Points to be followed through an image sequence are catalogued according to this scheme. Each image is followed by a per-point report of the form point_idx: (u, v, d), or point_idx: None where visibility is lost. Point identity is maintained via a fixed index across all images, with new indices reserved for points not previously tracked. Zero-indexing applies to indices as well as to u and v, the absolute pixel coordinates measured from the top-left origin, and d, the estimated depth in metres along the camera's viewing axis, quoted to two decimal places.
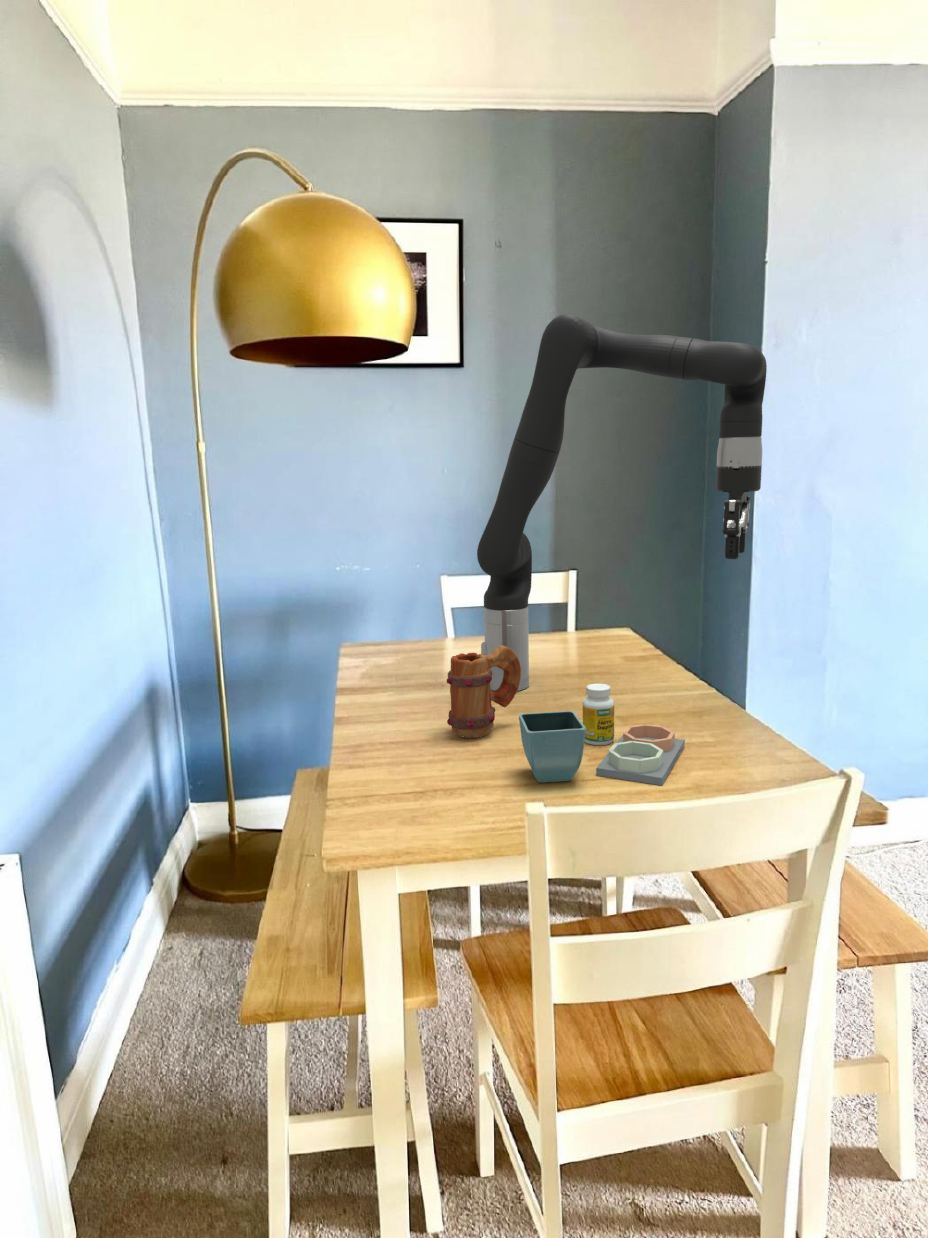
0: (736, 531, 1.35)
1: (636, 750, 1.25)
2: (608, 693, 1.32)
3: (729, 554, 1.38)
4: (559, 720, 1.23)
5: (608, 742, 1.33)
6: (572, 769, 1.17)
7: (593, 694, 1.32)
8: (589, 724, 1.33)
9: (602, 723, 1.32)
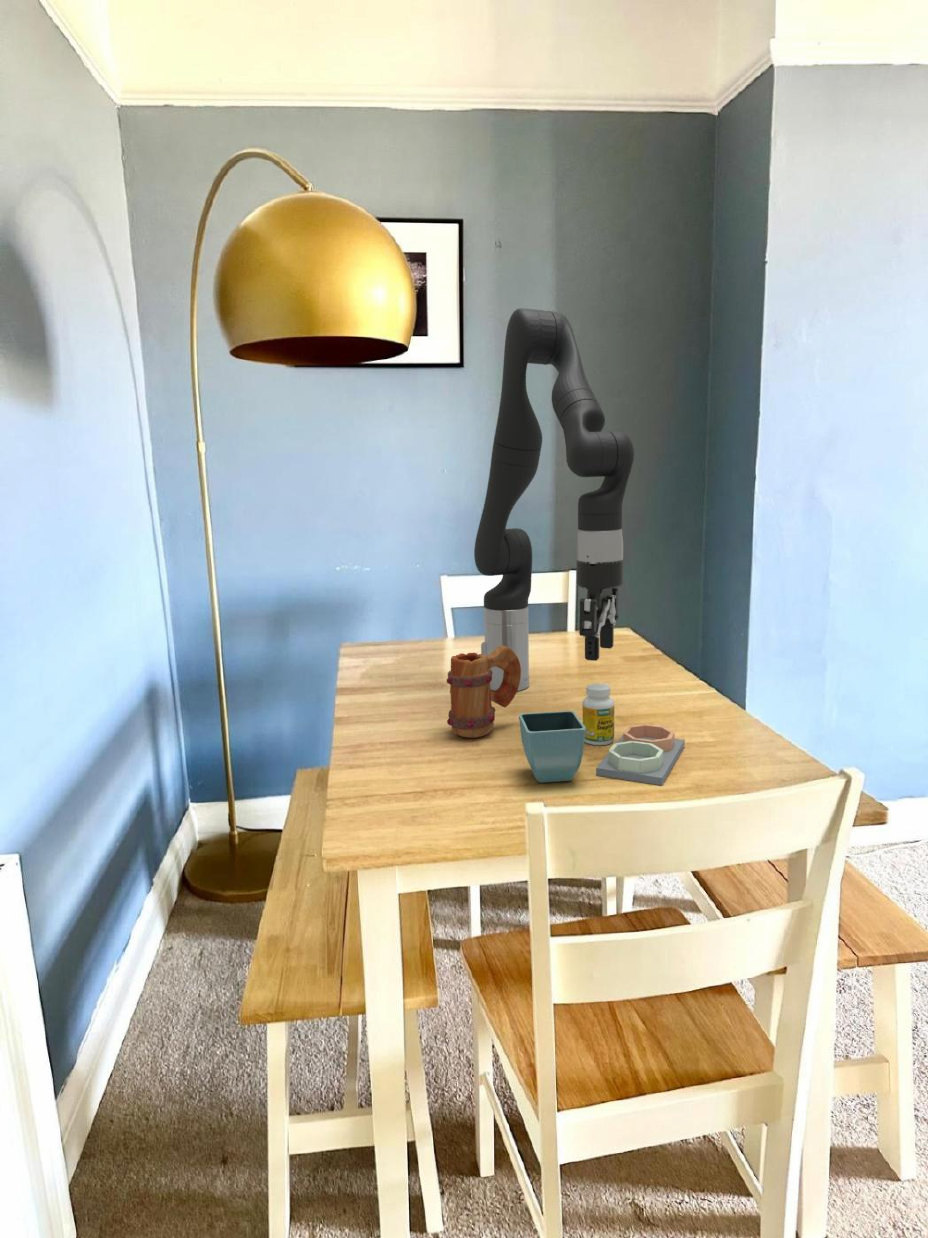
0: (592, 633, 1.24)
1: (636, 750, 1.25)
2: (608, 693, 1.32)
3: (588, 656, 1.27)
4: (559, 720, 1.23)
5: (608, 742, 1.33)
6: (572, 769, 1.17)
7: (593, 694, 1.32)
8: (589, 724, 1.33)
9: (602, 723, 1.32)
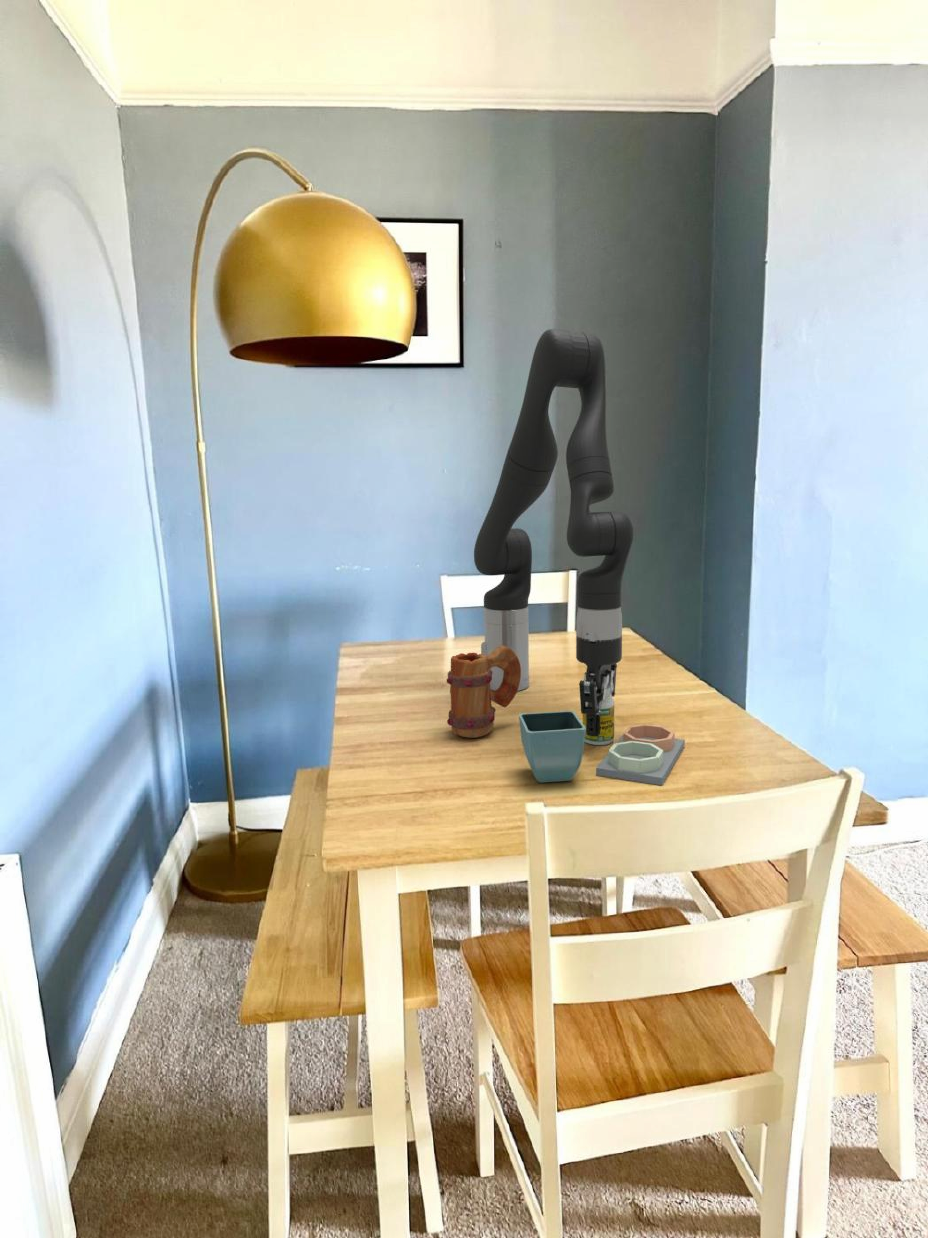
0: (593, 713, 1.28)
1: (636, 750, 1.25)
2: (608, 693, 1.32)
3: (589, 732, 1.31)
4: (559, 720, 1.23)
5: (608, 742, 1.33)
6: (572, 769, 1.17)
7: None
8: None
9: (602, 723, 1.32)
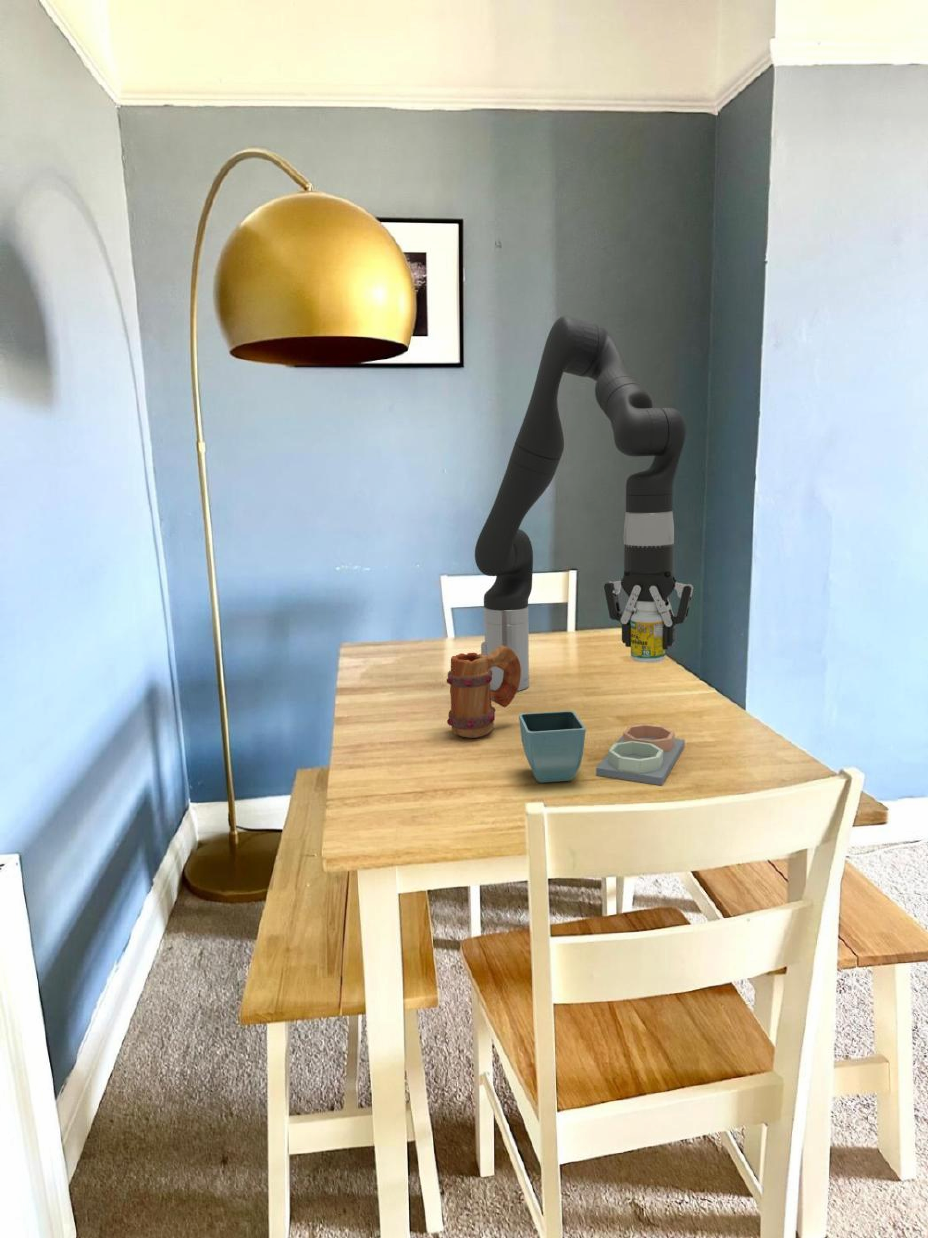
0: (610, 616, 1.27)
1: (636, 750, 1.25)
2: (641, 607, 1.23)
3: None
4: (559, 720, 1.23)
5: (635, 659, 1.25)
6: (572, 769, 1.17)
7: None
8: None
9: (631, 635, 1.25)
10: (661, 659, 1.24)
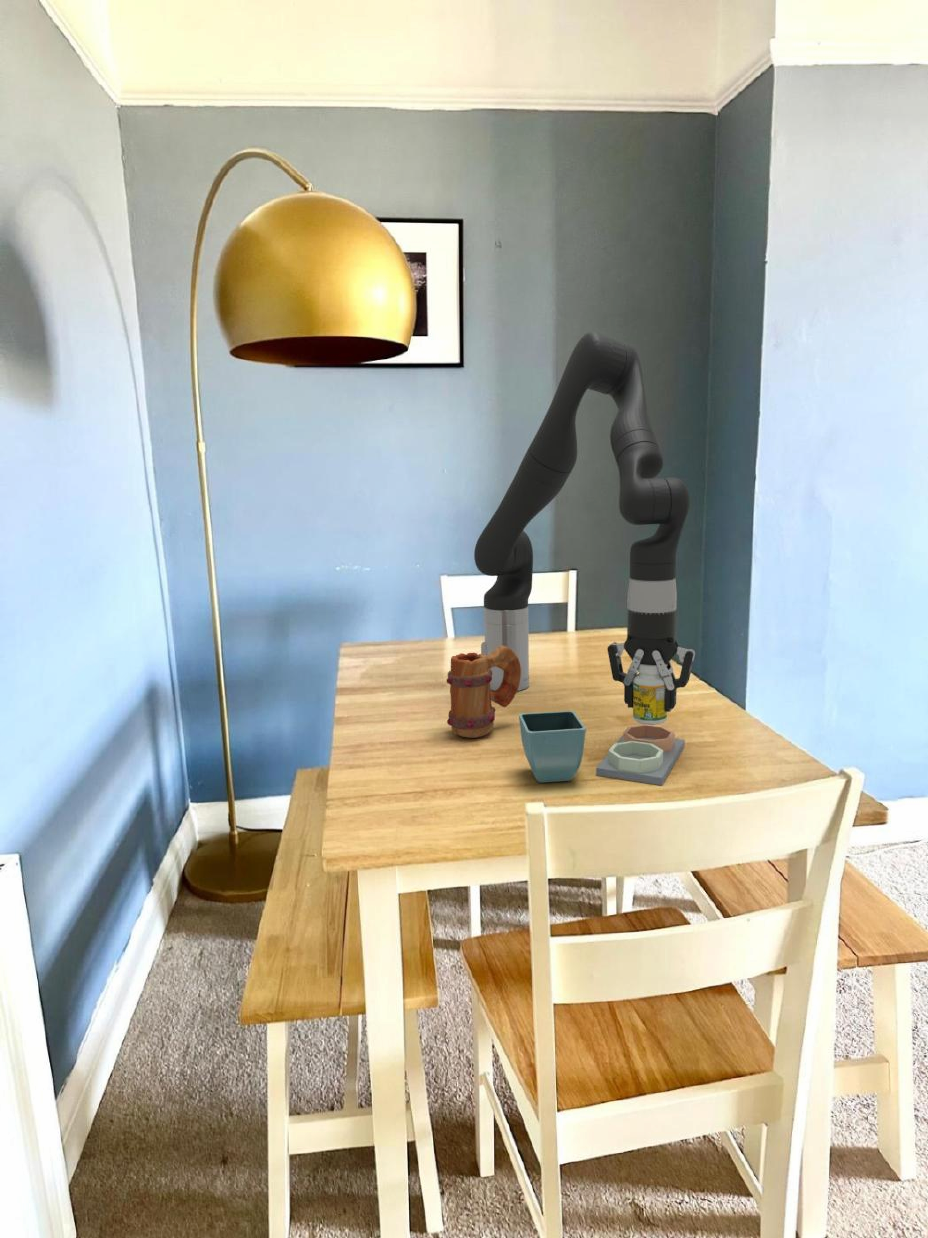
0: (613, 677, 1.29)
1: (636, 750, 1.25)
2: (643, 670, 1.26)
3: None
4: (559, 720, 1.23)
5: (637, 720, 1.27)
6: (572, 769, 1.17)
7: None
8: None
9: (633, 697, 1.28)
10: (663, 721, 1.27)
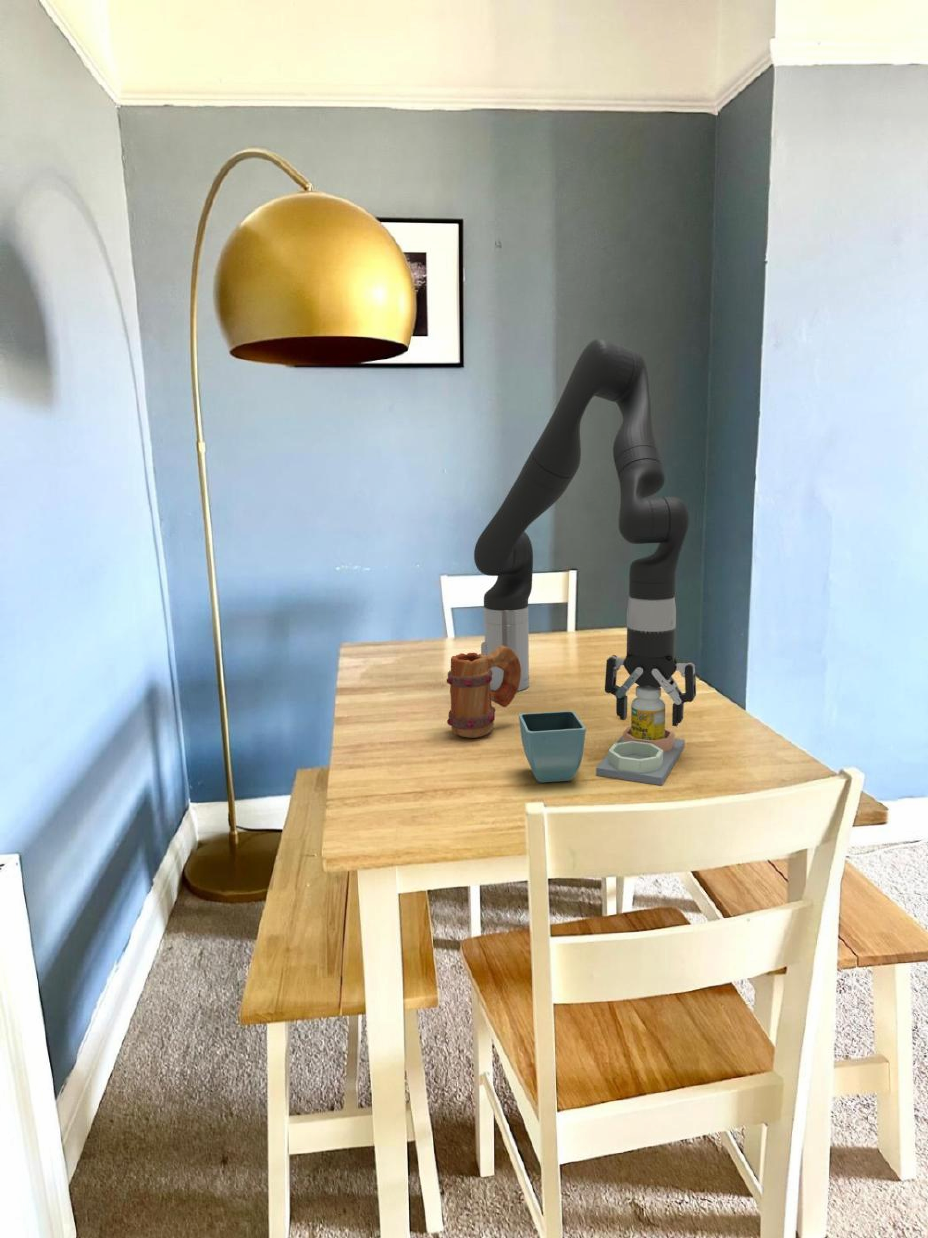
0: (605, 689, 1.30)
1: (636, 750, 1.25)
2: (641, 695, 1.27)
3: None
4: (559, 720, 1.23)
5: None
6: (572, 769, 1.17)
7: None
8: None
9: (632, 721, 1.29)
10: None
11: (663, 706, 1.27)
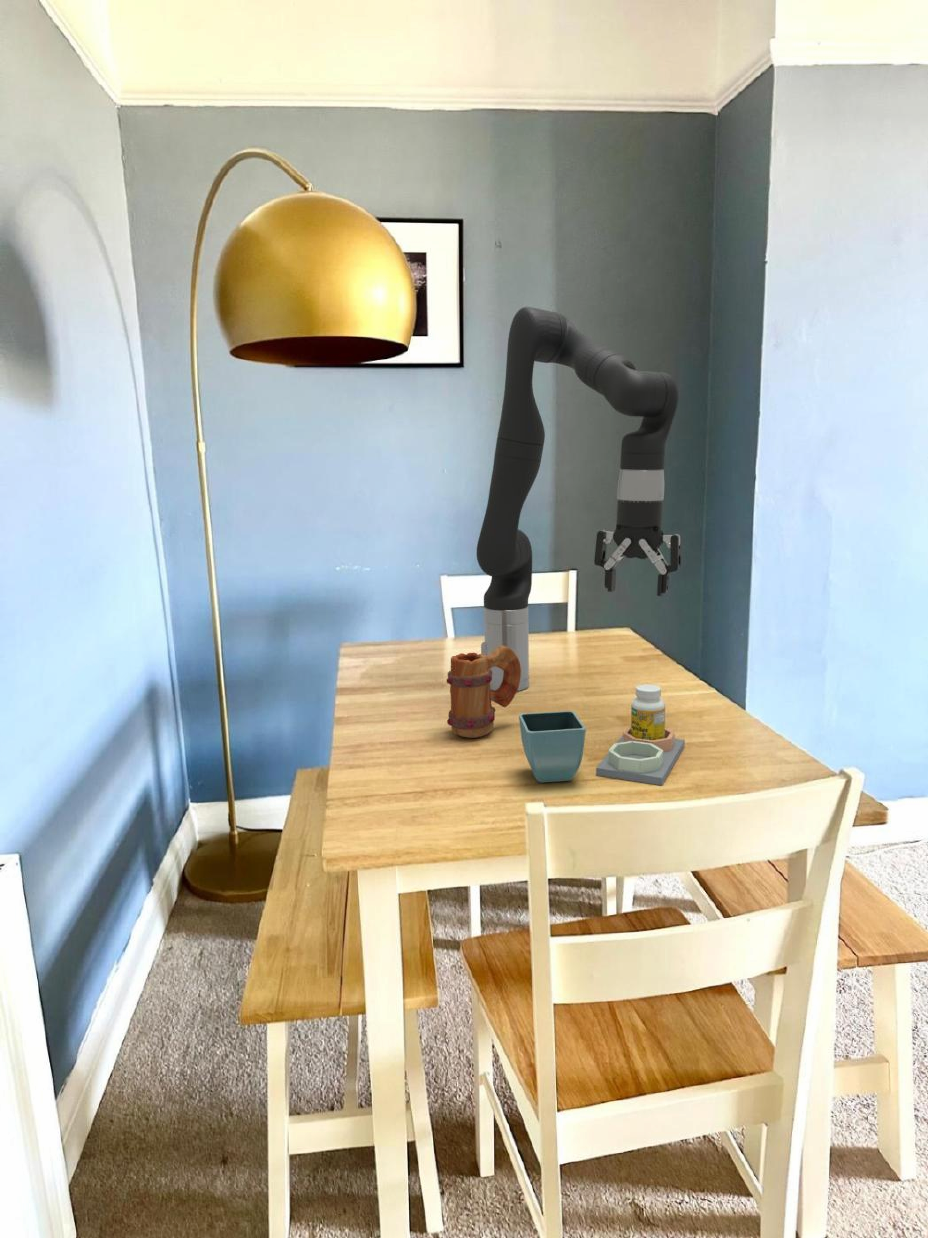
0: None
1: (636, 750, 1.25)
2: (641, 695, 1.27)
3: None
4: (559, 720, 1.23)
5: None
6: (572, 769, 1.17)
7: None
8: None
9: (632, 721, 1.29)
10: None
11: (663, 706, 1.27)
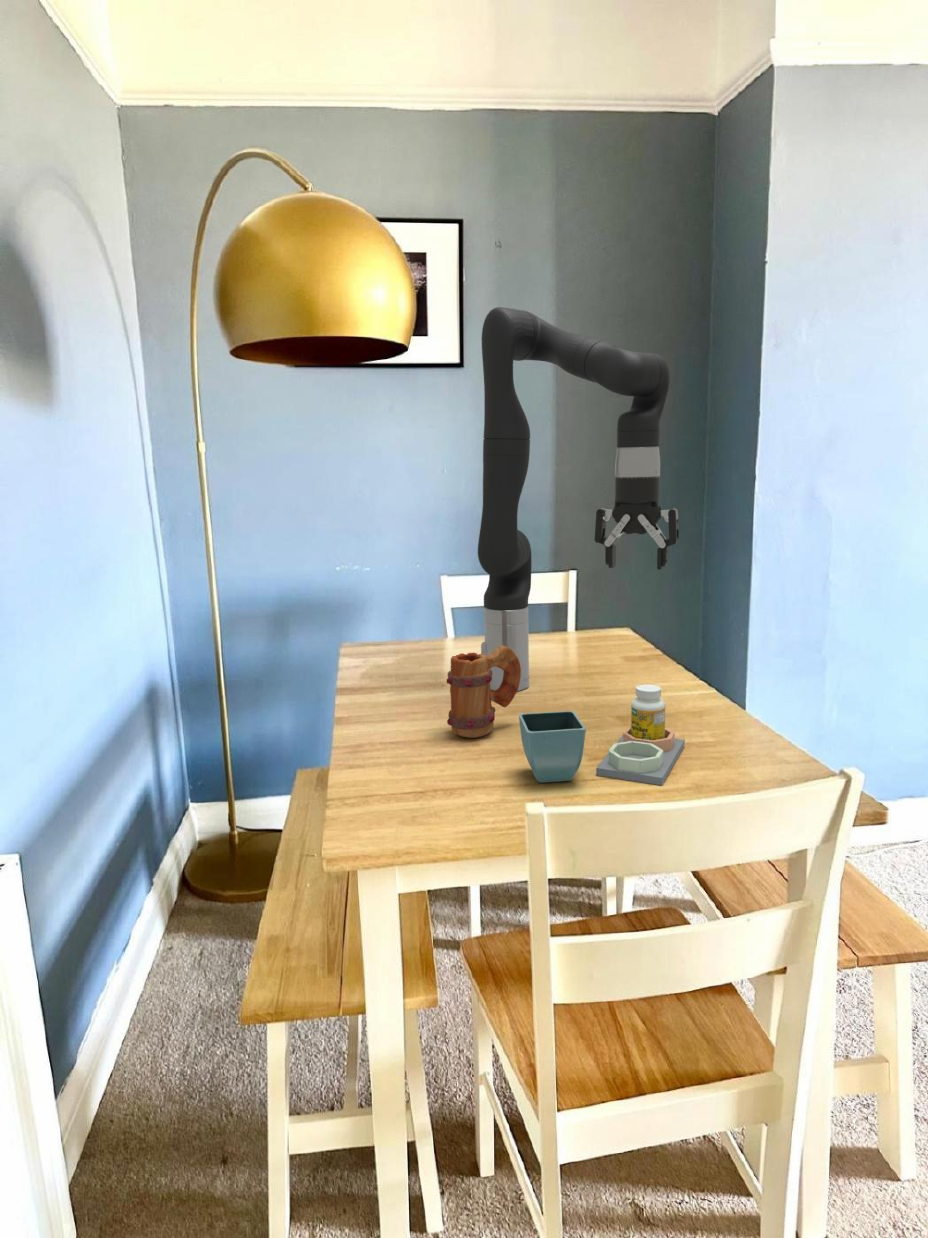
0: (595, 539, 1.40)
1: (636, 750, 1.25)
2: (641, 695, 1.27)
3: None
4: (559, 720, 1.23)
5: None
6: (572, 769, 1.17)
7: None
8: None
9: (632, 721, 1.29)
10: None
11: (663, 706, 1.27)
